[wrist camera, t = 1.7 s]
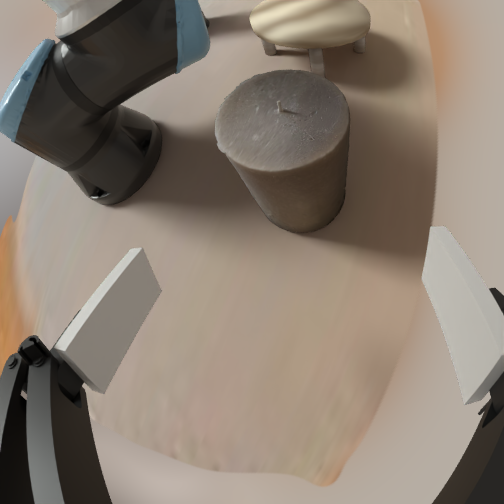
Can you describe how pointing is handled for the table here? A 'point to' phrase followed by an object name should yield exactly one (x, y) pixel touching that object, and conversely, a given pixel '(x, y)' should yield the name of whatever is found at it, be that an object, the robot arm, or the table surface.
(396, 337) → the table surface
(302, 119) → the pillar candle
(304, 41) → the beige round legged stand
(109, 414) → the table surface
